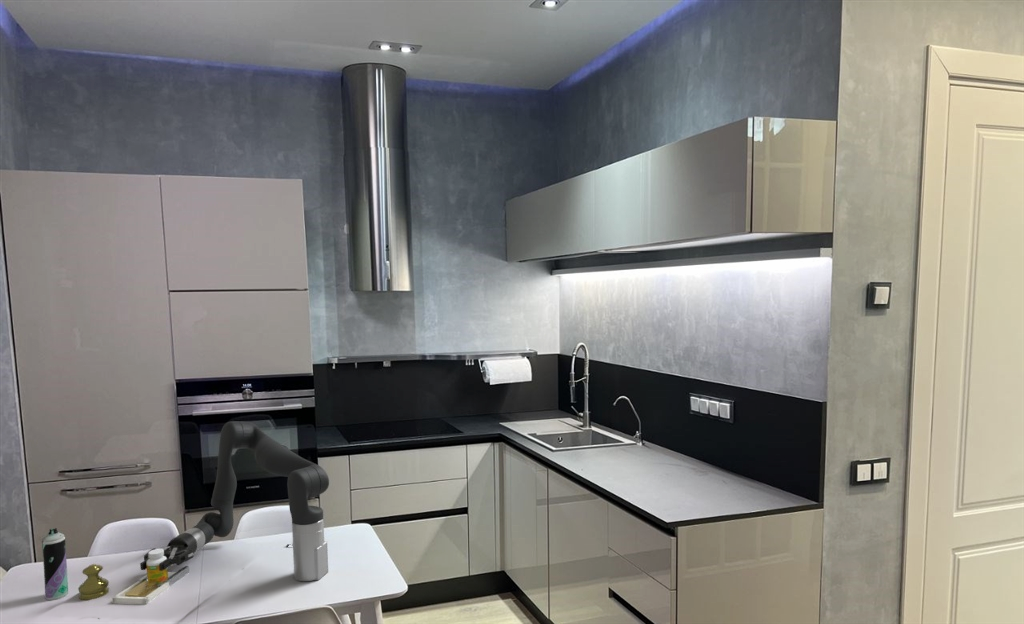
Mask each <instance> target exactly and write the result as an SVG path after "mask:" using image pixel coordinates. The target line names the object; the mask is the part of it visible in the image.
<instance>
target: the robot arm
mask: <svg viewBox="0 0 1024 624" xmlns="http://www.w3.org/2000/svg"><path fill="white" fill-rule="evenodd" d="M218 443H219V445H218V456H217V469H216V478H215V482H214V488H213V491H212V496H211V499H210V504H211V507H213V508H214V509H216V510H217V511H218V513H217V512H213V511H211V512H207V513H205V514H203V516H202V517H201V518H200V520H199V521H198V523H197V524H196V525H194V526H192V528H189V529H187V530H185V531H184V532H183V531H182V532H181V533H180V534H178V535H177V536H175V537H173V538H172V539H170V541H169V542H168V544H167V546H165V547H163V548H162V549H163V550H164V555H163V556H165V557H166V558H167V559H166V560H164V561H163V562H161V563H160V564H159V570H160V571H163V570H164V569H166V568H170V567H173V566H174V565H176V566H180V565H182V564H184V563H186V562H188V561H189V560H191V559H193V558H194V554H195V553H197V552H198V551H200V549H201V548H203V547H205V545H207V544H208V543H210V542H211V541H212V540H213V538H214V536H215V537H219V538H226V537H227V536H229V535H230V534H231V532H232V530H233V528H234V500H235V496H236V491H237V486H238V483H237V477H236V476H237V475H236V474H235V470H234V467H233V465H232V464H233V463H232V453H233V450H234V449H241V450H242V449H246V450H247V449H248V450H250V451H253V452H254V459H255V462H256V463H257V465H258V466H260V467H261V469H264V471H265V472H267V473H269V474H272V475H275V476H281V477H285V478H287V481H286V482H287V497H288V505H289V506H288V507H289V513H290V516H291V526H292V527H291V531H292V533H291V535H292V544H293V547H292V553H293V554H292V557H293V558H292V559H293V576H294V579H295V580H296V581H300V582H310V581H319V580H321V579H323V577H324V576H325V575H326V574H327V573H328V572H329V554H328V541H325V525H324V521H325V520H324V510H323V508H322V507H320V506H317V505H309V502H308V500H309V499H310V498H313V497H317V496H320V495H321V494H324V493H325V492H326V491H327V490H328V488H329V487H330V479H329V475H328V473H327V472H326V470H325V469H324V468H323V467H322V466H320V465H318V464H317V463H314V462H313V461H310V460H308V459H305V458H304V457H301V456H300V455H299V454H297V453H295V452H294V451H291V450H290V449H288V448H287V447H286V446H284V444H282V443H280V442H279V441H277V440H275V439H273V438H272V437H271V436H269V435H268V434H266V433H265V432H264V431H263V430H261V428H260V427H258V426H257V425H256V424H255V423H254V422H250V421H234V420H233V421H227V422H226V423H224V425H223V427H222V428H221V431H220V437H219V442H218ZM155 549H157V548H156V547H155V548H151V549H150V550H149V551H148V552H147V553H146V554H145V555H144V554H143V555H144V556H143V558H144V559H143V561H142V562H140V563H139V564H140V567H139V568H140V571H145V570H147V566H146V563H147V560H148V559H150V558H149V552H150V551H152V550H155Z"/></svg>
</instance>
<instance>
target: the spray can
mask: <svg viewBox="0 0 1024 624" xmlns="http://www.w3.org/2000/svg"><path fill="white" fill-rule="evenodd" d="M41 545H42V547H41V548H42V559H43V561H42V562H43V564H42V565H43V580H44V594H45V601H55V600H58V599H59V600H60V599H62V598H65V597H67V596H68V595H69V585H68V584H69V583H68V566H67V565H68V564H67V549H66V548H67V547H66V537H65V534H64V533H61V532H60V531H58V529H57V528H56V527H55V528H49V531H48V533H47V535H46V536H44V537H43V538H42V541H41Z"/></svg>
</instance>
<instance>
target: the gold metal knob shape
mask: <svg viewBox="0 0 1024 624" xmlns="http://www.w3.org/2000/svg"><path fill="white" fill-rule="evenodd" d="M103 569H104V566H103V565H101V564H95V563H93V564H89V565H88V566H86V567H85V568H84V569H83V570H82V574H83V575H86V579H85V580H84V581H83V582H82V583H81V584H80V585H79V586H78V588H77V589H78V590H77V591H78V593H79V594H78V598H79V600H80V601H92V600H95V599H99V598H101V597H104V596H105V595H107V594H108V593H109V590H110V588H109V580H108V579H107V578H103V576H100V572H101V571H103Z"/></svg>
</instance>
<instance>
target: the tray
mask: <svg viewBox="0 0 1024 624" xmlns="http://www.w3.org/2000/svg"><path fill="white" fill-rule="evenodd" d="M139 584H140V582H138V581H136V582H134V583H133V584H131V585H130V586H129V587H127V588H125V589H123V590H122V591H120V592H119V593H117V594H116V595H114V596H113V597H111V598H112V604H122V605H123V604H124V605H125V604H127V605H128V604H129V605H148V604H149V603H150V602H152V601H153V600H154V599H156V598H157V597H159V596H160V595H161V594H163V593H164V592H166V591H167V590H169V589H170V587H169V583H165V584H163V585H162V586H160V587H158V588H157V589H156V590H154V591H153V592H152V593H150V594H149V595H147V596H146V597H126V596H125V593H127V592H129V591H130V590H132V589H133V588H135V587H136V586H138V585H139Z"/></svg>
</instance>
